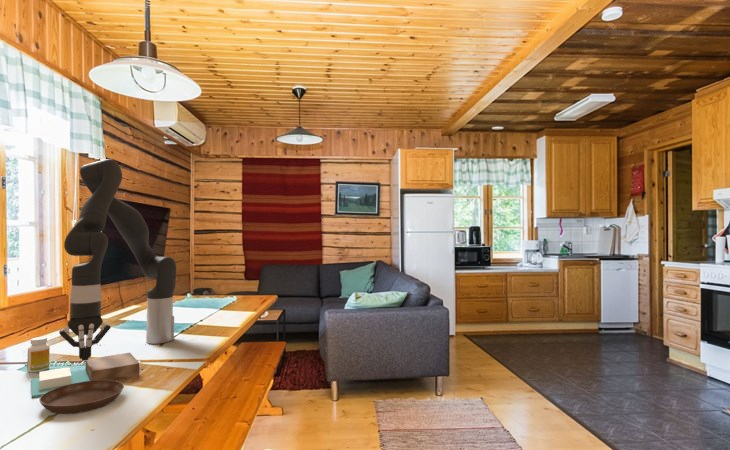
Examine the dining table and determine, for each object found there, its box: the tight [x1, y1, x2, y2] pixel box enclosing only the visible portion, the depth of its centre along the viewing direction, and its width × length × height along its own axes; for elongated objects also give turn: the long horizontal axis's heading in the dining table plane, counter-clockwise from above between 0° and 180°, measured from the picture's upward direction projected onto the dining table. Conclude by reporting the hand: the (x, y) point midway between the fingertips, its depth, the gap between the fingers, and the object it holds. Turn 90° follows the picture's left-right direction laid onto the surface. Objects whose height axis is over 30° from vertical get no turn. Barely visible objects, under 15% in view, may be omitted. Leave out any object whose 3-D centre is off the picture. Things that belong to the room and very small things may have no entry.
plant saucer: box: [39, 380, 125, 415], centre depth 106 cm, size 18×18×3 cm
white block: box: [38, 367, 72, 390], centre depth 118 cm, size 7×9×2 cm
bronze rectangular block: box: [84, 352, 140, 382], centre depth 126 cm, size 12×14×4 cm
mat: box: [30, 369, 90, 399], centre depth 118 cm, size 13×16×1 cm
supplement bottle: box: [26, 336, 51, 373], centre depth 130 cm, size 5×5×10 cm
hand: (84, 359), depth 122 cm, fingers closed
